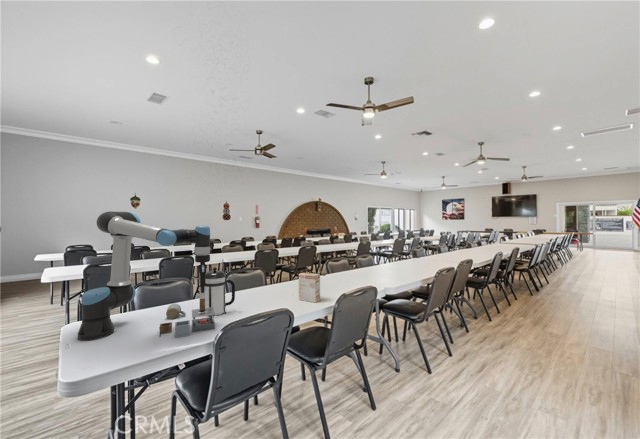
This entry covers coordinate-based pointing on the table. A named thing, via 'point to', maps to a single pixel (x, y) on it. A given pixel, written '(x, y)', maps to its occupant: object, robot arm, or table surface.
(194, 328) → the button base
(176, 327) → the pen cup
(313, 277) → the coffeecake box
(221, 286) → the coffee press
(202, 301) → the dowel
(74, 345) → the table surface
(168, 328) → the dowel holder
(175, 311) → the ceramic mug
